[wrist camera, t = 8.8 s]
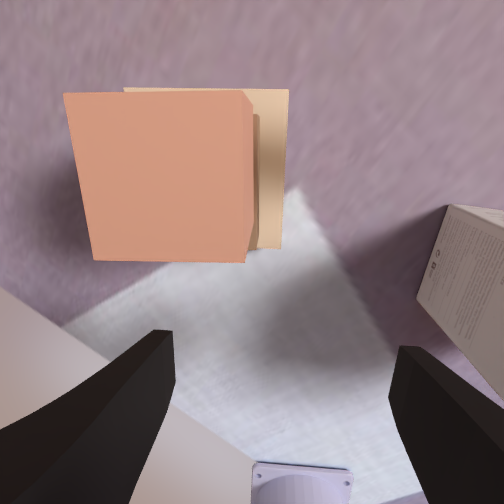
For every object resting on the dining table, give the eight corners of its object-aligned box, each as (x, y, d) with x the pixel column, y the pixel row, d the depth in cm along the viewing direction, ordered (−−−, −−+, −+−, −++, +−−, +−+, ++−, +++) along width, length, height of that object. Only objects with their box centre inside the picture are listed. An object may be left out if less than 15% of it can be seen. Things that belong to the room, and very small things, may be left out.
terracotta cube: (253, 222, 15) (244, 262, 10) (148, 221, 15) (94, 260, 11) (253, 104, 13) (241, 89, 9) (134, 106, 14) (62, 93, 9)
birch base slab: (280, 235, 21) (280, 248, 18) (155, 231, 21) (140, 243, 19) (287, 94, 18) (288, 89, 15) (143, 93, 18) (123, 87, 16)
